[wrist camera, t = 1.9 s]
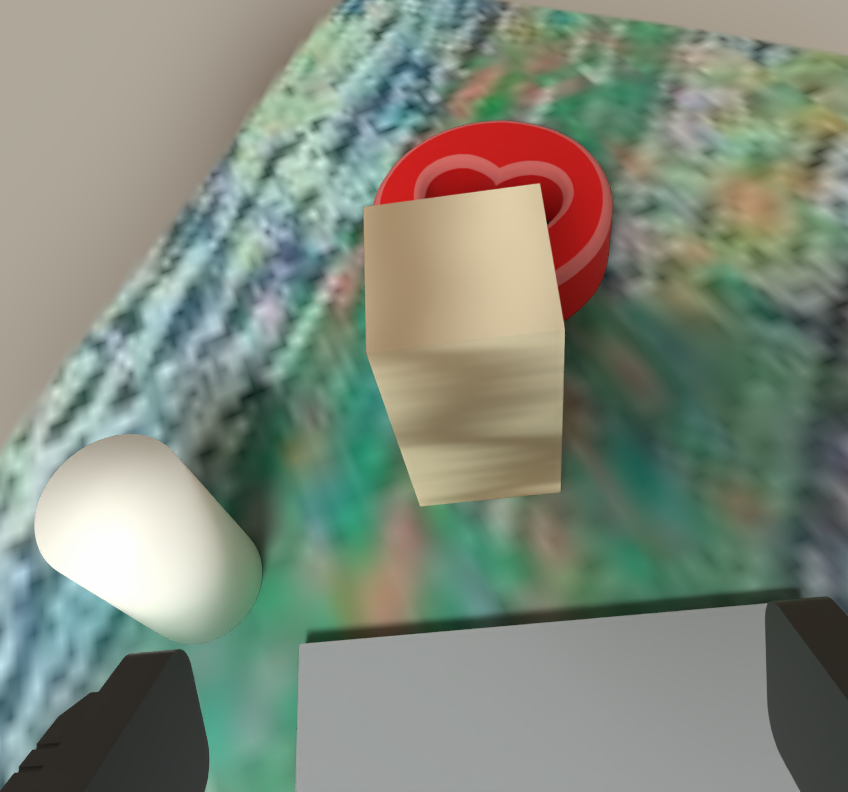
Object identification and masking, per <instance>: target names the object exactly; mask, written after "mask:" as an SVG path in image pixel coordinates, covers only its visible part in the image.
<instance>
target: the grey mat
mask: <svg viewBox="0 0 848 792" xmlns="http://www.w3.org/2000/svg"><path fill="white" fill-rule="evenodd" d="M767 604H768V603H764V604H753V605H741V606H730V607H718V608H707V609H695V610H684V611H672V612H661V613H650V614H638V615H627V616H615V617H604V618H592V619H581V620H569V621H558V622H546V623H535V624H523V625H512V626H500V627H489V628H477V629H466V630H454V631H443V632H432V633H420V634H409V635H397V636H386V637H374V638H363V639H351V640H340V641H328V642H317V643H305V644H299V678H298V716H297V753H296V790H295V792H800V790H799V788H798V787H797V785H796V783H795V781H794V779H793V777H792V776H791V774H790V772H789V770H788V768H787V767H786V765H785V763H784V761H783V759H782V757H781V755H780V753H779V751H778V749H777V746H776V744H775V741H774V737H773V734H772V730H771V726H770V721H769V715H768V707H767V679H766V642H765V611H766V606H767Z"/></svg>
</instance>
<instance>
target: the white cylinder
mask: <svg viewBox="0 0 848 792" xmlns="http://www.w3.org/2000/svg"><path fill="white" fill-rule="evenodd" d="M35 537H36V541H37V545H38V547H39V550H40V552H41V554H42V555H43V557H44V558H45V560H46V561H47V562H48V563H49V564H50V565H51V566H52V567H53V568H54V569H56V570H57V571H58V572H60V573H61V574H63V575H65V576H66V577H68V578H69V579H71V580H73V581H74V582H76V583H77V584H79V585H81V586H82V587H84V588H86V589H87V590H89V591H90V592H92V593H94V594H95V595H97V596H98V597H100V598H102V599H103V600H105V601H107V602H108V603H110V604H111V605H113V606H115V607H116V608H118V609H119V610H121V611H123V612H124V613H126V614H127V615H129V616H131V617H132V618H134V619H136V620H137V621H139V622H140V623H142V624H144V625H145V626H147V627H148V628H150V629H152V630H153V631H155V632H156V633H158V634H160V635H161V636H163V637H165V638H167V639H168V640H171V641H173V642H176V643H181V644H201V643H206V642H210V641H212V640H215V639H218V638H219V637H221V636H223V635H225V634H227V633H228V632H230V631H231V630H233V629H234V628H235V627H236V626H237V625H238V624H239V623H240V622H241V621H242V620H243V619H244V618H245V617H246V616H247V614H248V613H249V612H250V610H251V608H252V607H253V605H254V603H255V601H256V599H257V597H258V594H259V591H260V587H261V582H262V562H261V558H260V555H259V552H258V550H257V548H256V546H255V544H254V543H253V541H252V540H251V539H250V538H249V537H248V535H247V534H246V533H245V532H244V531H243V530H242V529H241V528H240V526H239V525H238V524H237V523H236V522H235V521H234V520H233V519H232V517H231V516H230V515H229V514H228V513H227V512H226V511H225V510H224V508H223V507H222V506H221V505H220V504H219V503H218V502H217V501H216V499H215V498H214V497H213V496H212V495H211V494H210V493H209V492H208V490H207V489H206V488H205V487H204V486H203V485H202V484H201V482H200V481H199V480H198V479H197V478H196V477H195V476H194V475H193V473H192V472H191V471H190V470H189V469H188V468H187V467H186V466H185V464H184V463H183V462H182V461H181V460H180V459H179V458H178V457H177V455H176V454H175V453H174V452H173V451H172V450H171V449H170V448H169V447H168V446H166V445H165V444H163V443H162V442H160V441H158V440H156V439H154V438H151V437H148V436H144V435H137V434H123V435H115V436H111V437H107V438H104V439H101V440H99V441H96V442H94V443H92V444H90V445H88V446H86V447H84V448H83V449H81V450H79V451H78V452H77V453H75V454H74V455H73V456H71V457H70V458H69V459H68V460H67V461H66V462H65V463H63V464H62V465H61V467H60V468H59V469H58V470H57V471H56V472H55V473H54V475H53V476H52V478H51V479H50V480H49V482H48V484H47V485H46V487H45V489H44V491H43V493H42V495H41V497H40V500H39V503H38V506H37V510H36V515H35Z"/></svg>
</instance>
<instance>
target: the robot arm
mask: <svg viewBox="0 0 848 792" xmlns="http://www.w3.org/2000/svg"><path fill="white" fill-rule="evenodd" d="M765 642H766V679H767V707H768V715H769V721H770V726H771V730H772V734H773V737H774V741H775V744H776V746H777V749H778V751H779V753H780V755H781V757H782V759H783V761H784V763H785V765H786V767H787V768H788V770H789V772H790V774H791V776H792V777H793V779H794V781H795V783H796V785H797V787H798V788H799V790H800V792H848V616H847V615H846V614H845V613H844V612H843V611H842V610H841V608H840V607H839V606H838V605H837V604H836V603H835V602H834V601H833V600H832V599H831V598H829V597H814V598H802V599H790V600H778V601H770V602H769V603H768V604H767V606H766V611H765ZM208 772H209V747H208V741H207V736H206V732H205V727H204V723H203V718H202V713H201V709H200V704H199V699H198V695H197V690H196V685H195V681H194V676H193V672H192V667H191V663H190V660H189V657H188V656H187V654H186V653H185V651H183V650H181V649H177V650H165V651H153V652H141V653H131V654H128V655H126V656H125V657H124V658H123V660H122V661H121V662H120V664H119V665H118V666H117V668H116V669H115V670H114V672H113V673H112V675H111V676H110V677H109V679H108V680H107V681H106V683H105V684H104V685H103V687H102V688H101V689H100V691H99V692H93V693H89V694H88V695H87V696H85V697H84V698H83V699H81V700H80V701H79V702H77V703H76V704H75V705H73V706H72V707H71V708H69V709H68V710H67V711H65V712H64V713H63V714H61V715H60V716H59V717H58V718H57V719H56V720H55V721H54V723H53V724H52V725H51V727H50V728H49V729H48V730H47V732H46V733H45V734H44V736H43V737H42V738H41V739H40V741H39V742H38V743H37V748H36V750H32V751H31V752H30V753H29V755H28V756H27V757H26V759H25V760H24V761H23V762H22V764H21V765H20V766H19V772H18V773H14V774H13V775H12V776H11V778H10V779H9V780H8V782H7V783H6V784H5V785H4V787H3V788H2V789H1V790H0V792H204V791H205V788H206V784H207V779H208Z"/></svg>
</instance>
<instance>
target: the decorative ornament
mask: <svg viewBox="0 0 848 792" xmlns="http://www.w3.org/2000/svg"><path fill="white" fill-rule="evenodd" d="M538 183H540V187H541V193H542V199H543V205H544V210H545V216H546V220H548V221H550V223H549V224H548V225H547V228H548V234H549V240H550V245H551V251H552V257H553V263H554V269H555V274H556V280H557V286H558V292H559V298H560V304H561V309H562V315H563V321H565V320H567V319H568V318H569V317H571V316H572V315H573V314H575V313H576V312H577V311H578V310H579V309H581V308H582V307H583V306H584V305H585V304H586V303H587V302H588V301H589V299H590V298H591V297H592V296H593V295H594V293H595V292H596V290H597V289H598V287H599V285H600V283H601V281H602V279H603V276H604V274H605V270H606V267H607V262H608V255H609V244H610V233H611V222H612V210H613V201H612V193H611V189H610V186H609V183H608V180H607V178H606V176H605V174H604V172H603V170H602V168H601V167H600V165H599V164H598V162H597V161H596V160H595V158H594V157H593V156H592V155H591V154H590V153H589V152H588V151H587V150H586V149H585V148H584V147H583V146H581V145H580V144H579V143H577V142H576V141H575V140H573V139H571V138H570V137H568V136H566V135H564V134H562V133H560V132H557V131H555V130H552V129H549V128H546V127H543V126H539V125H534V124H530V123H523V122H516V121H486V122H477V123H471V124H466V125H462V126H458V127H455V128H452V129H449V130H446V131H444V132H441V133H439V134H437V135H434V136H432V137H430V138H429V139H427V140H425V141H423V142H422V143H420V144H418V145H417V146H415V147H414V148H413V149H411V150H410V151H409V152H408V153H406V154H405V155H404V156H403V157H402V158H401V159H400V160H399V161H398V162H397V163H396V164H395V165H394V166H393V167H392V169H391V170H390V171H389V173H388V174H387V176H386V177H385V179H384V180H383V182H382V183H381V185H380V187H379V189H378V191H377V194H376V197H375V200H374V204H373V206H375V205H382V204H390V203H397V202H404V201H412V200H419V199H427V198H434V197H442V196H449V195H457V194H464V193H471V192H479V191H486V190H494V189H501V188H509V187H516V186H524V185H531V184H538Z"/></svg>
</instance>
